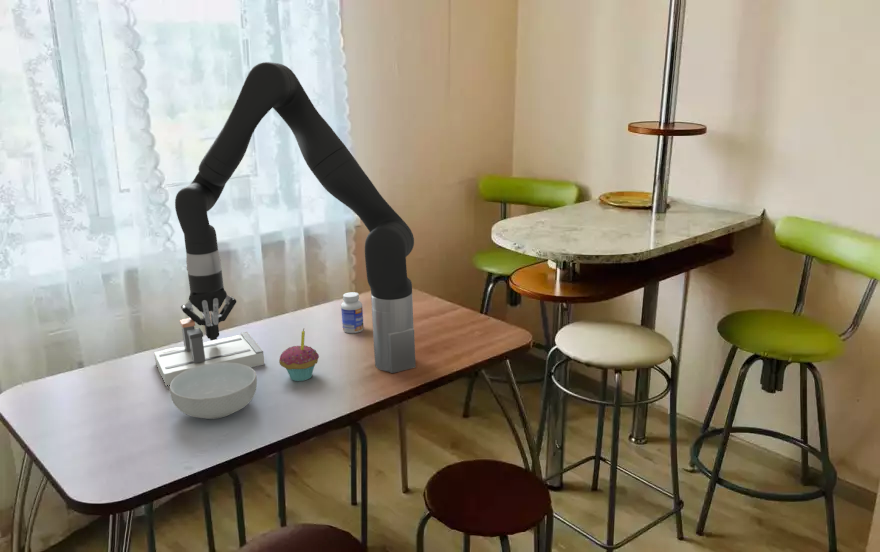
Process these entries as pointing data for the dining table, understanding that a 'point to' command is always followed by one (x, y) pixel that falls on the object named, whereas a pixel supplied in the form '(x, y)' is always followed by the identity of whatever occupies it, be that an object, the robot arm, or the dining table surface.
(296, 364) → the cupcake
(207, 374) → the cereal bowl
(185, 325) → the terracotta fader
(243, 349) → the console
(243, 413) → the dining table surface
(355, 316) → the pill bottle
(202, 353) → the black fader
